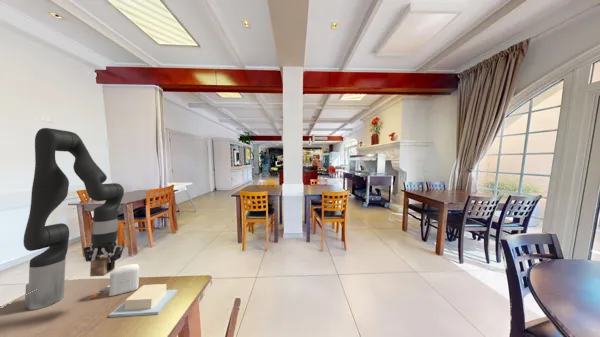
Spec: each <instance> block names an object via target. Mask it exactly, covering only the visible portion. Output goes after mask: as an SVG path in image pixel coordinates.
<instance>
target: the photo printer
mask: <svg viewBox="0 0 600 337" xmlns="http://www.w3.org/2000/svg"><path fill="white" fill-rule="evenodd" d="M139 280H140V265H139V264H138V263H134V264H133V263H130V264H125V265H121V266H118V267H115V269H114V270H113V271H111V272H110V276H109V285H110V288H109V290H108V296H110V297H113V296H114V297H115V296H118V295H122V294H125V293H130V292H133V291H134V292H135V291H137V290H138V289H139V286H140V285H139V284H140V282H139Z"/></svg>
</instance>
